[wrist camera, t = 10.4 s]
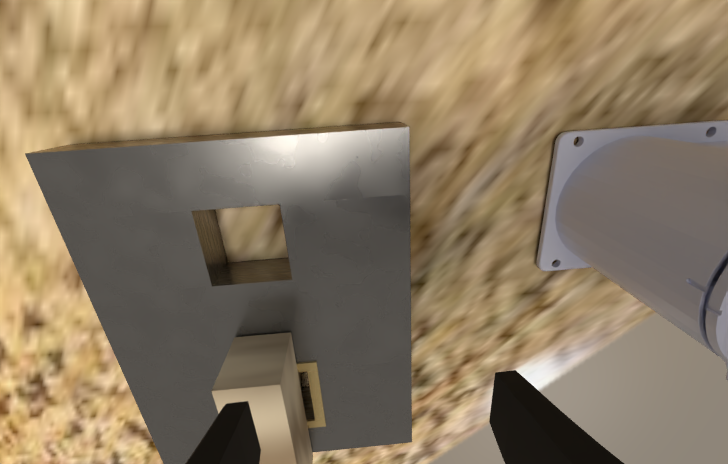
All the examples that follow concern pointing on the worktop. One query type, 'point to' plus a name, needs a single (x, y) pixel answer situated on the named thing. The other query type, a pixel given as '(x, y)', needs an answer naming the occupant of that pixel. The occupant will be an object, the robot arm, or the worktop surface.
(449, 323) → the worktop surface
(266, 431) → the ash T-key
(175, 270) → the charcoal cover panel
